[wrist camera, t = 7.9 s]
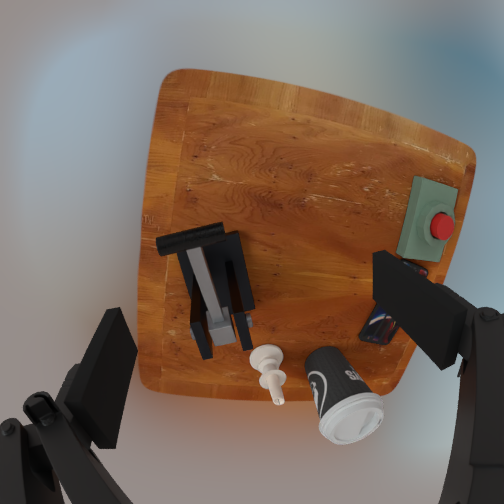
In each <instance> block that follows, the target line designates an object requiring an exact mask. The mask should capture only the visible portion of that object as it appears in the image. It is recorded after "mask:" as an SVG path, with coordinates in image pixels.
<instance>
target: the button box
mask: <svg viewBox="0 0 504 504" xmlns="http://www.w3.org/2000/svg"><path fill="white" fill-rule="evenodd" d="M457 192H458V189H455V188H453V187H450V186H447V185H444V184H441V183H438V182H435V181H432V180H429V179H426V178H422V177H418V176H414V179H413V184H412V189H411V194H410V198H409V203H408V207H407V212H406V216H405V220H404V224H403V228H402V232H401V236H400V240H399V243H398V247H397V251H396V253H397V254H399V255H400V256H402V257H403V258H409V259H418V260H426V261H434V262H440V258H441V255H442V252H443V248H444V245H445V244H446V243H447V241H448V240H449V239H450V237H451V236H452V235H451V236H450V237H449V238H448V239H447V240H440V239H438V238H436V237H434V236H433V235H432V233H431V231H430V224H431V221H432V219H433V217H434V216H435V215H436V214H439V213H442V214H445V215H447V216H450V217H451V218H452V219H453V221H454V226H455V217H454V212H453V210H454V206H455V202H456V197H457ZM452 234H453V233H452Z"/></svg>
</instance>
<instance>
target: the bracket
mask: <svg viewBox="0 0 504 504" xmlns="http://www.w3.org/2000/svg"><path fill="white" fill-rule="evenodd" d="M225 235H226V239H227V241H224V242H220V243H216V244H211V245H207V246H203V247H202V248H203V251H204V255H205V258H206V261H207V264H208V268H209V271H210V274H211V277H212V280H213V283H214V286H215V289H216V292H217V296H218V299H219V302H220V305H221V308H223V307H227V306H228V308H229V311H230V315H232V314H233V315H234V319H235V323H236V327H237V330H238V334H239V337H240V341H241V345H242V348H243V351H246V350H251V349H253V345H252V341H251V337H250V333H249V328H250V327H253V323H252V319H251V315H250V313H247V314H245V311H249V310H253V309H255V305H254V300H253V296H252V292H251V287H250V283H249V278H248V274H247V269H246V265H245V260H244V256H243V251H242V247H241V242H240V237H239V233H238V231H232V232H228V233H225ZM177 256H178V260H179V263H180V266H181V270H182V273H183V276H184V279H185V283H186V286H187V289H188V292H189V295H190V298H191V313H190V333H191V336H192V339H193V340H196V342H197V345H198V348H199V351H200V353H201V356H202V358H203V360H206V359H210V358H213V352H212V338H211V335H210V333H209V331H208V324H207V316H206V311H208V308H207V306H206V303H205V300H204V298H203V295H202V292H201V290H200V287H199V284H198V282H197V279H196V276H195V274H194V271H193V268H192V265H191V262H190V260H189V257H188V254H187V251H182V252H178V253H177Z"/></svg>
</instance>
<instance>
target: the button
mask: <svg viewBox="0 0 504 504" xmlns="http://www.w3.org/2000/svg"><path fill="white" fill-rule="evenodd" d="M453 230H454V221H453V219H452V218H451V217H450V216H447V215H445V214H442V213H439V214H436V215H435V216H434V217H433V219H432V221H431V224H430V231H431V233H432V235H433V236H434V237H436V238H438V239H440V240H447V239H448V238H449V237H450V236H451V235H452V233H453Z"/></svg>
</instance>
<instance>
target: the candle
mask: <svg viewBox="0 0 504 504" xmlns="http://www.w3.org/2000/svg"><path fill="white" fill-rule="evenodd" d="M282 360H283V353H282V350H281V349H280V348H279V347H277V346H276V345H272V344H266V345H261V346H259V347H257V348H256V349H254V350H253V351H252V353H251V355H250V364H251V366H252V367H253V368H254V369H256V370H259V371H260V372H261V373H262V375H261V377H260V379H259V383H260V385H261V386H262V387H263V388H265V389H269V390H270V394H271V396H272V399H273V402H274V403H275V404H276V405H281V404H283V403H284V402H285V400H284V397H283V393H282V389H281V385H283V384H284V382H285V380H286V375H285V373H284V372H283V371H281V370H278V369H279V365H280V364H281V362H282Z"/></svg>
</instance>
